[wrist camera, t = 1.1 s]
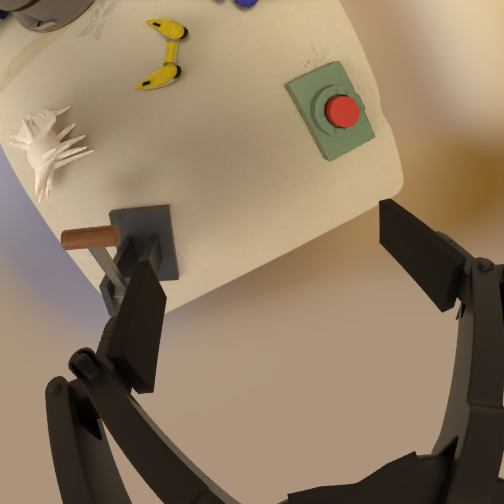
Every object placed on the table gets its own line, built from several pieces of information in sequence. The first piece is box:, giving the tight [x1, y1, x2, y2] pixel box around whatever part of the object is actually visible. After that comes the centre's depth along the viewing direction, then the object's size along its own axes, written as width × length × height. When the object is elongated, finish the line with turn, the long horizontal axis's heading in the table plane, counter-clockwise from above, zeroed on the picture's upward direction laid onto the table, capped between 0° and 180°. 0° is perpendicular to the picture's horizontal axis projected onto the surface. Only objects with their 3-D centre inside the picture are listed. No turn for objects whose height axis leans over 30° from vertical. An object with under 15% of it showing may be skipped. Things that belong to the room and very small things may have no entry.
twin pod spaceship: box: [135, 19, 188, 90], centre depth 28 cm, size 10×6×4 cm, turn 171°
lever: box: [61, 225, 131, 305], centre depth 27 cm, size 13×6×2 cm, turn 0°
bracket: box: [99, 205, 179, 316], centre depth 36 cm, size 12×9×14 cm
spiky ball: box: [9, 105, 94, 204], centre depth 29 cm, size 11×12×8 cm
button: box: [325, 96, 360, 127], centre depth 32 cm, size 4×4×2 cm
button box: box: [285, 61, 375, 162], centre depth 34 cm, size 12×8×4 cm, turn 30°
